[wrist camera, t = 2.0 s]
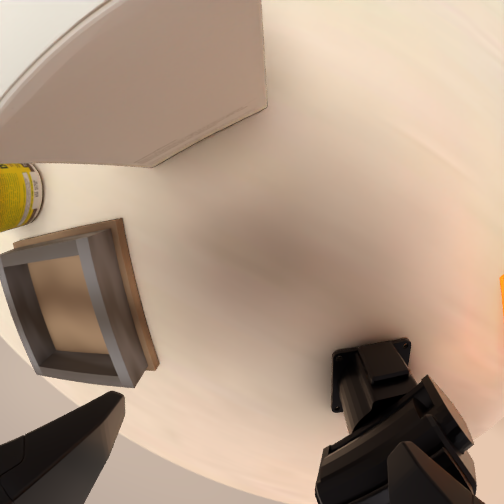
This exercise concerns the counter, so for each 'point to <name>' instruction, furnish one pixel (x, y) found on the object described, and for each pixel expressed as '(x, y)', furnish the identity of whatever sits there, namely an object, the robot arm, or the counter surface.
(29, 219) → the supplement bottle
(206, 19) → the supplement box
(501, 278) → the orange juice
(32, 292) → the tray
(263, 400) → the counter surface
